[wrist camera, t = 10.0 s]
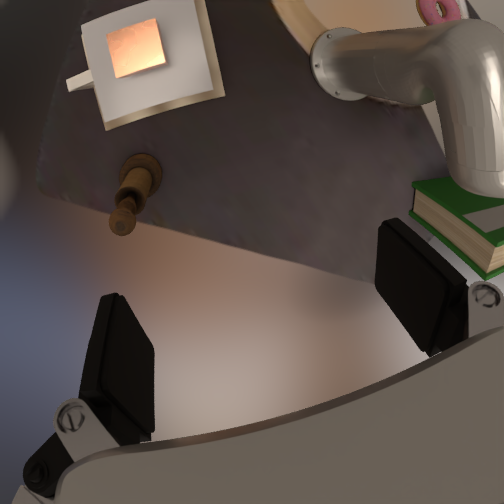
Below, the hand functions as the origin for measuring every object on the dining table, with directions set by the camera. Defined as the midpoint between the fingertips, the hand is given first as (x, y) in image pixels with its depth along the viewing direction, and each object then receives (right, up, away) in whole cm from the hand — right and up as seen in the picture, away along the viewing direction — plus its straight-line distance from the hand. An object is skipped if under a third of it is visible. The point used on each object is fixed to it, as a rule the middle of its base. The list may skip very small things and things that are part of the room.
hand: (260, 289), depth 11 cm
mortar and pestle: (-17, +13, +34) cm, 40 cm away
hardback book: (+41, +14, +47) cm, 64 cm away
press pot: (-15, +27, +24) cm, 39 cm away
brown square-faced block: (-13, +27, +23) cm, 37 cm away
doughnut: (+34, +47, +25) cm, 63 cm away
